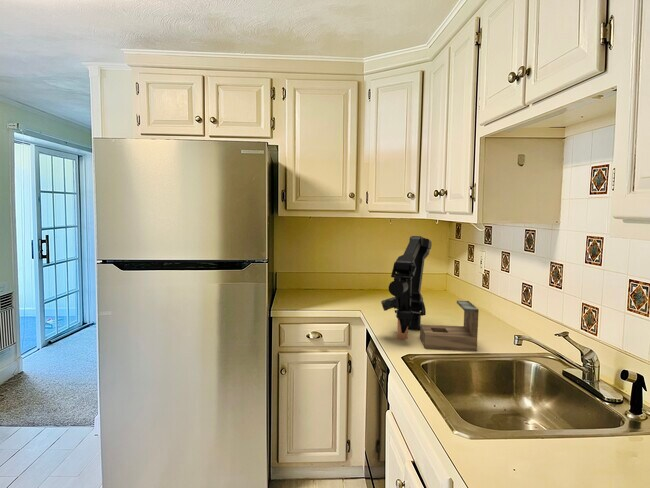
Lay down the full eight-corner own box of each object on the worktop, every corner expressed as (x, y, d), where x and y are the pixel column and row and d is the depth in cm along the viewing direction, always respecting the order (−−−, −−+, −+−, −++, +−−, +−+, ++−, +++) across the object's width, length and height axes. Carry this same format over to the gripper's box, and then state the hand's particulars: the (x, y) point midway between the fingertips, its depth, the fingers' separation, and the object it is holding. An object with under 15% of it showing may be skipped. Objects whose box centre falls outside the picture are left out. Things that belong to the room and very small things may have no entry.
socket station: (419, 336, 161) (421, 299, 160) (467, 339, 159) (468, 300, 158) (425, 348, 147) (426, 307, 146) (476, 351, 146) (478, 309, 144)
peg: (396, 335, 162) (397, 316, 161) (407, 336, 162) (407, 316, 161) (397, 339, 158) (398, 318, 157) (408, 339, 158) (408, 319, 157)
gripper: (381, 286, 168) (380, 324, 170) (383, 295, 150) (382, 337, 151) (409, 287, 167) (408, 325, 169) (414, 296, 149) (413, 339, 150)
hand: (402, 331), depth 160 cm, fingers closed on peg, 4 cm apart
